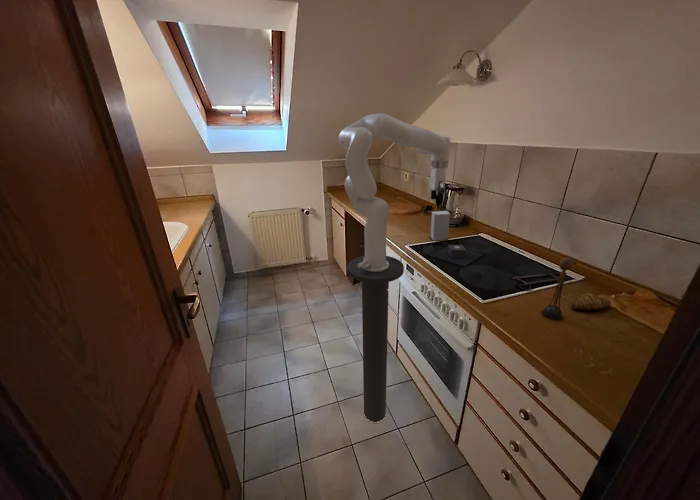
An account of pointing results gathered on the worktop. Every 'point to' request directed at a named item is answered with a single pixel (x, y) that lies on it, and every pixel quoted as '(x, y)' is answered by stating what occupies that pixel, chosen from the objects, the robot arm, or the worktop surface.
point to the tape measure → (456, 251)
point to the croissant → (590, 302)
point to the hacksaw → (538, 281)
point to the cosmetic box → (440, 225)
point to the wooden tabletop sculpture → (558, 290)
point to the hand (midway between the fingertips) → (436, 201)
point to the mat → (462, 262)
